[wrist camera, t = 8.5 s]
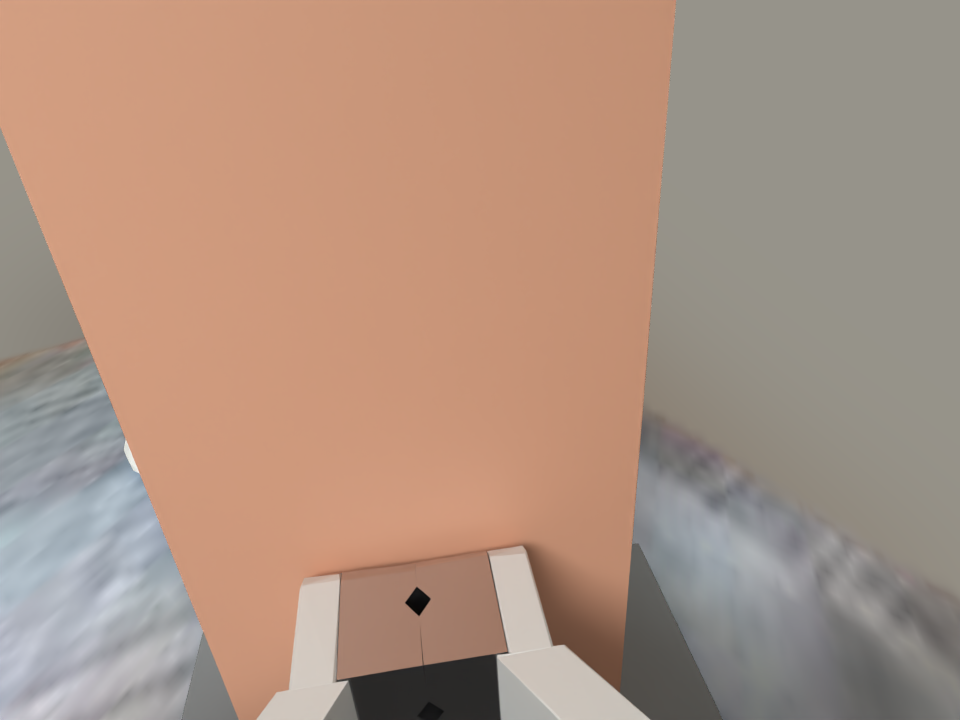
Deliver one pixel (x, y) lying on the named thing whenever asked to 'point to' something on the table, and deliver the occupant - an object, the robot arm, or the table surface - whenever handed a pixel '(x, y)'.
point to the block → (358, 283)
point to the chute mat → (644, 679)
